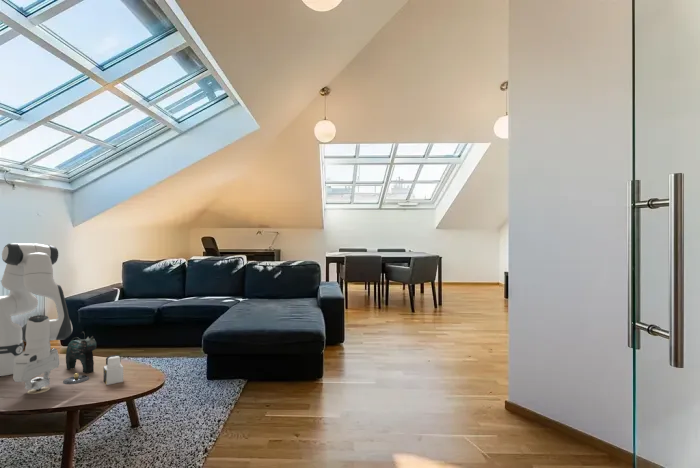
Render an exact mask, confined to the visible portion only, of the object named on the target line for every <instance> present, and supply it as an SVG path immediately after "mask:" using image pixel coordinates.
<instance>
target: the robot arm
mask: <svg viewBox="0 0 700 468" xmlns="http://www.w3.org/2000/svg"><path fill="white" fill-rule="evenodd" d="M1 257H2V258H1V259H2V261H3V262H4V263H5V264H6V265H5V269H4V271H3V275H2V278H1V282H0V283H1V285H2V287H3V288H4V289H5V290H8V291H9V293H8V294H6V295H0V377H4V376H9V375H12V376H13V377H12V378H13V381H14V383H15V382H16V383H23V382H24V384H25V383H26V384H27V388H28V389H27V390H31V389H30V388H33V387H34V386H33V385H34V383H31V380H32V379H34V378H36V377H39V376H40V375H42V374H43V376H42V377H47V378H50V375H51V371H53V370H55V369H57V368H59V366H60V356H59V353H58V349H57V348H56V347H54V348H51V341H62V340H63V341H65V340H67V339H68V338H69V337H70V336H71V335H72V334H73V324H72V321H71V318H70V316H69V310H68V307H67V306H68V305H67V303H66V298H65V295H64V291H63V288H62V286H61V285H60V284H57V283H56V281H55V279H54V271H53V265H54V264H56V263H57V262H58V258H59V250H58V249H57V247H56V246H54V245H50V244H43V243H27V242H26V243H18V242H10V243H7V244H6V245H4V247H3V248H2V251H1ZM36 296H40V297H44V298H48V299H50V300H52V301H53V302H54V303H55V308H56V311H57V316H58V317H57V318H53V319H51V318H50V317H49V316H48V315H43V314H41V315H39V314H38V315H34V316H30V317H29V318H28V319H27V321H26V323H25V324H24V325H23V326H22V325H20V324H18V323H16V322H13V321H12V317H14V316H21V315H25V314H29V313H32V312H34V311H35V310H36V309H37V307H38V306H39V300H38V298H37V297H36ZM24 342H25V343H24ZM25 344H26V345H25Z"/></svg>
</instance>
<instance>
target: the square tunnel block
mask: <svg viewBox="0 0 700 468" xmlns="http://www.w3.org/2000/svg"><path fill="white" fill-rule="evenodd" d="M38 378H41V380H39V381H36V379H38ZM50 381H51V380H50V377H48V378H47V377H43V376H36V377H33V378H32V380H31V383H34V385H33V386H34V387H33V388H30V389H28V388H27V384H26V383H25V382H24V390H32V389H40V388H43V387H48V386H49V385H50V384H51V383H50Z"/></svg>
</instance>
